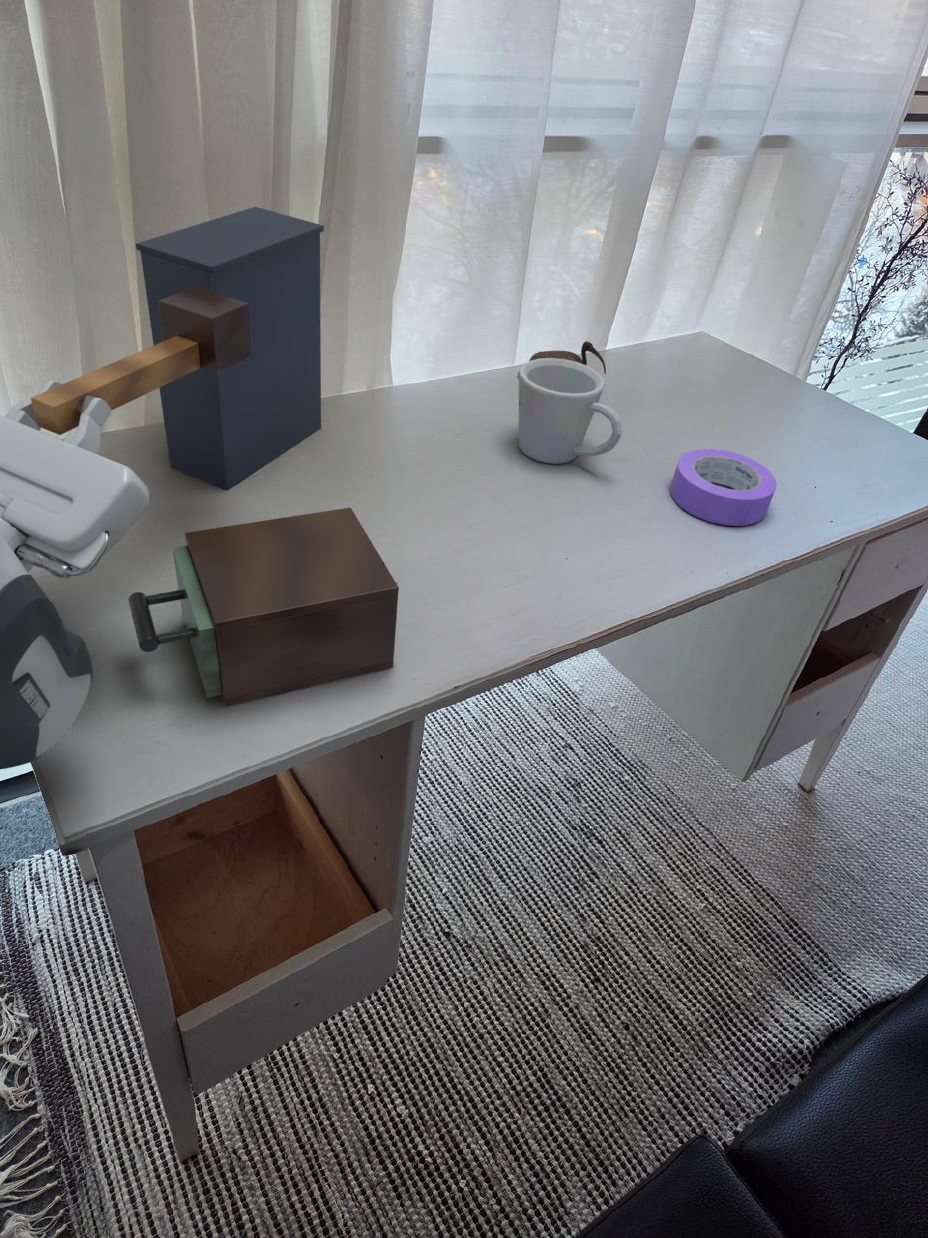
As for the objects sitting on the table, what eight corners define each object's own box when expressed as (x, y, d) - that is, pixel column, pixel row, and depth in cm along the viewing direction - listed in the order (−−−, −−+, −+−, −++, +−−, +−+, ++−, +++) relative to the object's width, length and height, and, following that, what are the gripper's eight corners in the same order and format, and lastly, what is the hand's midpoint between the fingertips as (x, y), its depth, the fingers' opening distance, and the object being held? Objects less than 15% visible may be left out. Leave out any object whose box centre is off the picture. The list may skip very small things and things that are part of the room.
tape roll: (662, 470, 106) (670, 443, 103) (752, 479, 106) (762, 452, 104) (679, 522, 97) (688, 494, 94) (777, 531, 97) (789, 503, 95)
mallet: (77, 442, 64) (64, 380, 60) (19, 419, 65) (4, 357, 62) (252, 356, 79) (249, 302, 75) (201, 338, 80) (196, 286, 77)
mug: (542, 421, 112) (555, 350, 106) (633, 468, 105) (653, 395, 99) (490, 444, 106) (501, 369, 99) (583, 496, 99) (601, 419, 92)
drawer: (153, 710, 66) (139, 641, 61) (132, 623, 73) (118, 556, 68) (366, 661, 73) (369, 596, 68) (328, 586, 80) (328, 522, 75)
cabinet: (225, 707, 68) (215, 623, 62) (195, 614, 76) (184, 532, 70) (393, 668, 74) (399, 587, 68) (349, 585, 82) (350, 507, 76)
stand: (231, 491, 92) (211, 266, 76) (166, 466, 94) (135, 243, 79) (324, 429, 104) (324, 225, 89) (265, 407, 107) (255, 206, 92)
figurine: (607, 410, 117) (621, 350, 111) (585, 417, 115) (598, 356, 109) (538, 371, 125) (549, 313, 119) (516, 377, 122) (526, 318, 117)
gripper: (53, 566, 56) (166, 407, 60) (-153, 471, 62) (-37, 332, 66) (103, 605, 62) (203, 457, 66) (-90, 514, 68) (13, 383, 72)
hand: (81, 394), depth 66 cm, fingers closed on mallet, 2 cm apart
